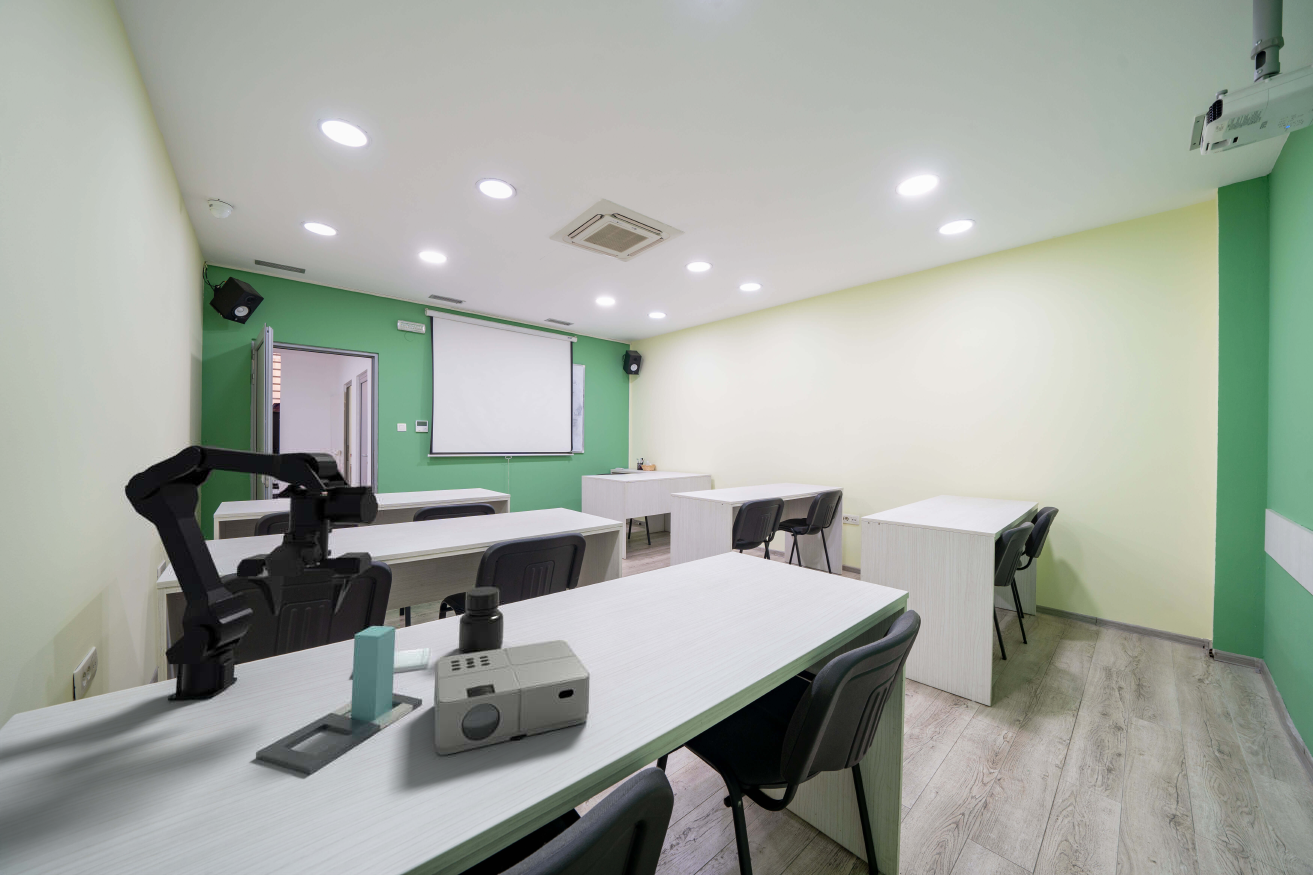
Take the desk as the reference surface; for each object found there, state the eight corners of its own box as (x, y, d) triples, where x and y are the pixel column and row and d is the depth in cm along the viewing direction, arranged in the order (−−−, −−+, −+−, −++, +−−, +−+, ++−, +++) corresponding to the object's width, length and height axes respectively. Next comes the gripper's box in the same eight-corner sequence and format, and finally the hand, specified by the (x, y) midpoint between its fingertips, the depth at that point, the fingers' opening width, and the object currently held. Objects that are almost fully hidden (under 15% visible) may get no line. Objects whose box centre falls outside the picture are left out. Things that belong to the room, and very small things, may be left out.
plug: (350, 720, 73) (354, 634, 74) (369, 706, 77) (372, 625, 78) (374, 722, 73) (378, 636, 74) (392, 708, 77) (395, 627, 78)
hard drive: (352, 672, 87) (427, 662, 92) (361, 654, 95) (430, 646, 99) (352, 681, 87) (427, 671, 92) (361, 663, 95) (430, 654, 99)
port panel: (310, 774, 61) (310, 768, 61) (255, 757, 64) (256, 751, 64) (421, 704, 78) (422, 699, 79) (375, 693, 82) (375, 689, 82)
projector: (433, 704, 79) (435, 656, 79) (563, 679, 89) (565, 637, 89) (434, 763, 64) (437, 704, 64) (591, 726, 74) (592, 674, 74)
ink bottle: (509, 639, 107) (511, 585, 107) (497, 656, 98) (499, 597, 98) (465, 639, 106) (467, 585, 107) (449, 656, 97) (451, 596, 98)
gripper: (214, 531, 74) (209, 633, 73) (346, 530, 77) (342, 627, 77) (260, 521, 85) (256, 610, 84) (374, 521, 88) (370, 606, 88)
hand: (305, 613), depth 83 cm, fingers open, 9 cm apart
